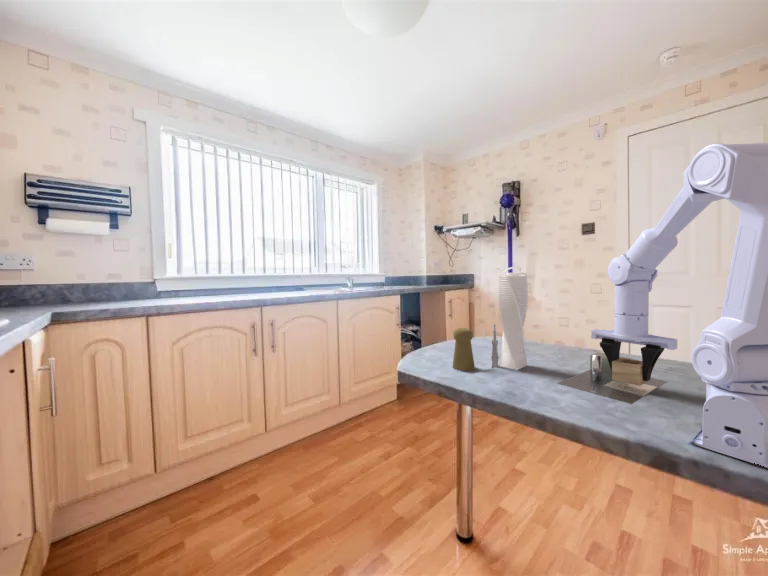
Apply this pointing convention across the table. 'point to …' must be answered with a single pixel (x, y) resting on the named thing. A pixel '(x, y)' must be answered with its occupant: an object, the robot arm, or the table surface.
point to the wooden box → (628, 371)
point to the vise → (609, 382)
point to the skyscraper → (511, 320)
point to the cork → (463, 350)
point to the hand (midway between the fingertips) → (630, 376)
